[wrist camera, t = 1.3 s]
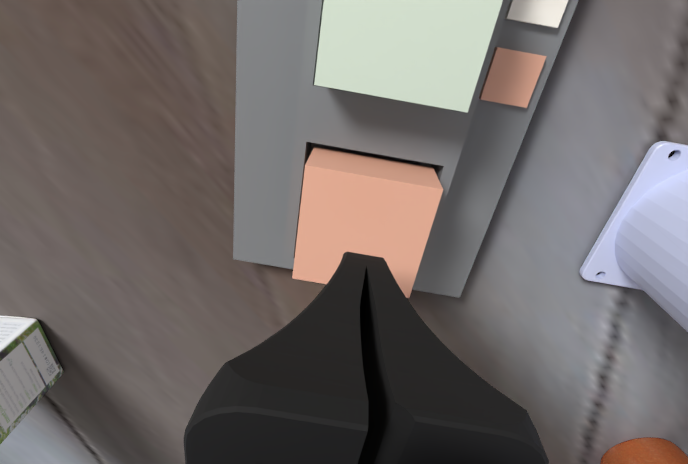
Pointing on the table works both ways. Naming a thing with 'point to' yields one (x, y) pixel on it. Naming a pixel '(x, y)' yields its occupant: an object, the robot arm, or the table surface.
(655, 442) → the toy tea set
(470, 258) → the stepped grey tray
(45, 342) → the syrup box
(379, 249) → the terracotta key
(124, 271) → the table surface
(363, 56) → the sage key
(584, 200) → the table surface
